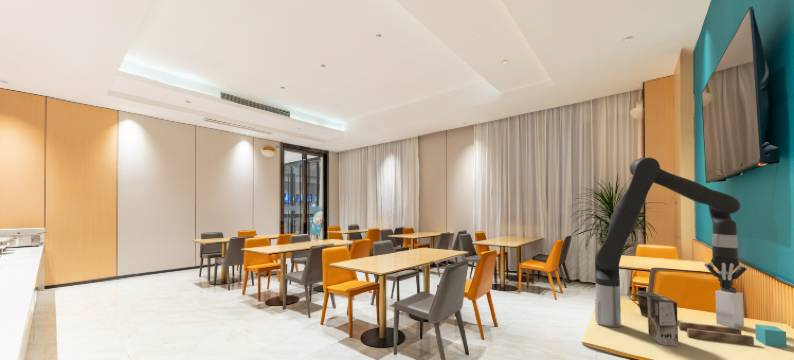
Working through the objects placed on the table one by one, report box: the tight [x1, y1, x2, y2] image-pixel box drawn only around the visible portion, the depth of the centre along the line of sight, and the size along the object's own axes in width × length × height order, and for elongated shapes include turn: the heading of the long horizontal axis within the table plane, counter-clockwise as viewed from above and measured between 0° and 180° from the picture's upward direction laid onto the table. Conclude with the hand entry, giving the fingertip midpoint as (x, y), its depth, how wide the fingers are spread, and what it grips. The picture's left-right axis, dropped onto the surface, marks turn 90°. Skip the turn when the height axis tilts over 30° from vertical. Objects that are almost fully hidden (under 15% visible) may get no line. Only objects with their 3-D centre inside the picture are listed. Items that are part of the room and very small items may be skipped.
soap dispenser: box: [715, 278, 745, 329], centre depth 153 cm, size 6×9×22 cm
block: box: [754, 323, 788, 349], centre depth 133 cm, size 6×6×6 cm
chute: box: [678, 321, 755, 346], centre depth 140 cm, size 20×10×3 cm, turn 69°
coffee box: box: [647, 295, 679, 347], centre depth 135 cm, size 9×6×16 cm
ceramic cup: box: [628, 291, 662, 318], centre depth 165 cm, size 13×10×10 cm
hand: (725, 289), depth 139 cm, fingers closed
